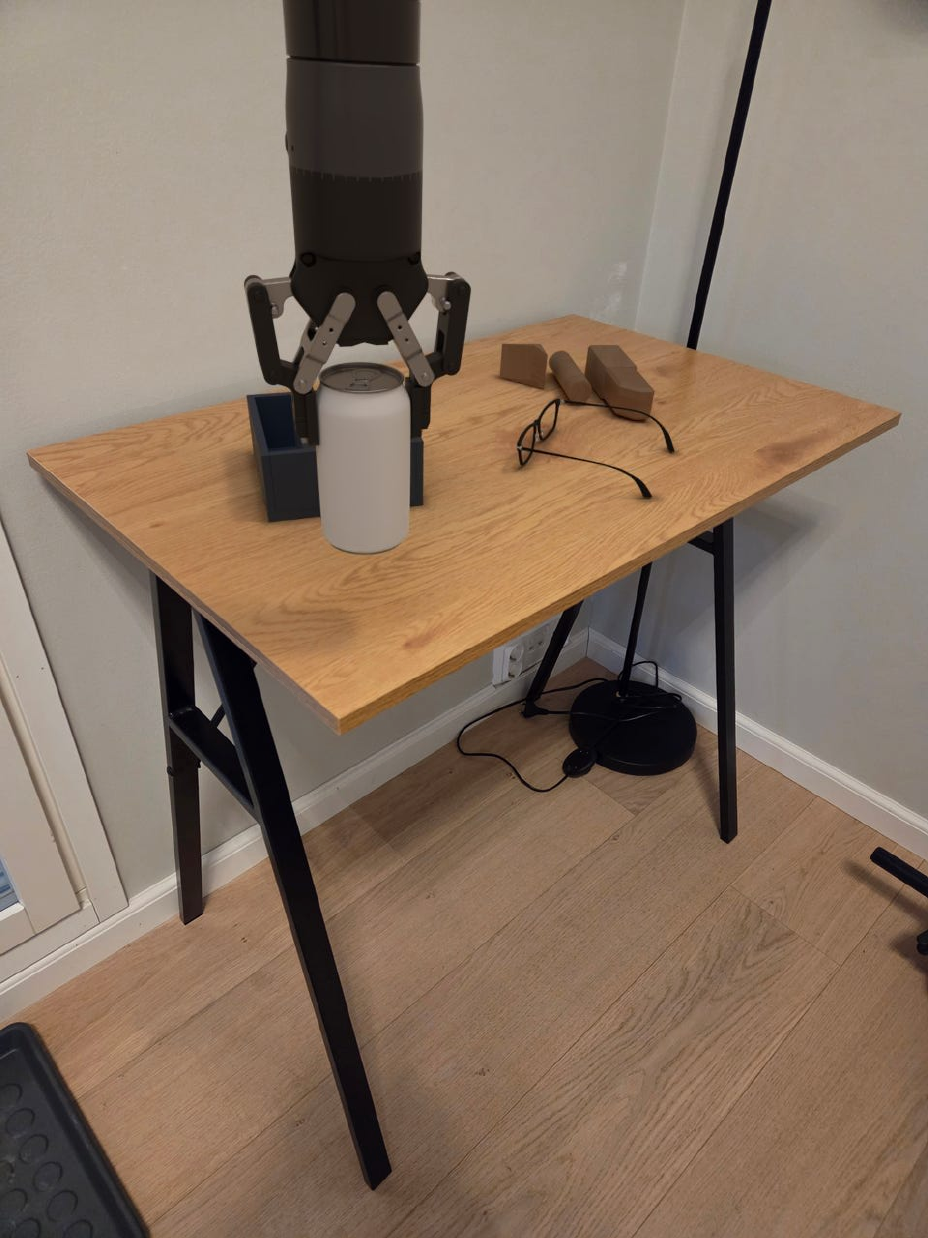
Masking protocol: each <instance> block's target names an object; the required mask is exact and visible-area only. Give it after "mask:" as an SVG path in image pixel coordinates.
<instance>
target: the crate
mask: <svg viewBox="0 0 928 1238" xmlns="http://www.w3.org/2000/svg"><path fill="white" fill-rule="evenodd" d="M314 391H315V393H316V391H317V389H314ZM246 402H247V403H246V404H247V413H248V421H249V426H250V435H251V443H252V451H253V457H254V462H255V466H256V470H257V475H258V479H259V484H260V489H261V495H262V498H263V503H264V507H265V511H266V517H267V521H268V523H272V522H280V521H281V522H282V521H290V520H299V519H308V518H309V519H310V518H316V517H321V515H320V500H319V485H318V470H317V454H316V448H305V449H296V445H295V434H294V424H293V412H292V399H291V391H283V392H282V391H281V392H270V393H253V394H246ZM424 448H425V442H424V440H423V438H422V437H421V438H413V439H411V438H410V504H409V507H416V506H417V507H418V506H423V505H424V461H425V460H424V456H425V455H424V453H425V452H424V451H425V449H424Z"/></svg>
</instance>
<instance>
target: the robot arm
mask: <svg viewBox="0 0 928 1238" xmlns="http://www.w3.org/2000/svg"><path fill="white" fill-rule="evenodd" d="M281 1H282V12H283V13H282V14H283V15H282V16H283V28H284V44H285V55H286V56H287V58H286V59H285V60H286V61H285V62H286V63H285V64H286V78H285V79H286V81H285V96H284V97H285V103H284V108H285V111H284V112H285V113H284V114H285V127H286V131H285V135H284V143H285V144H284V146H285V151H286V153H287V159H288V171H289V182H290V183H289V185H290V198H291V199H290V201H291V213H292V228H293V242H294V243H293V244H294V261H293V265H292V267H291V270H290V271H289V275H288V276H282V277H281V276H280V277H272V278H264V279H262V278H261V277H260V276H259V275H256V274H250V275H248V276H247V277H246V278H245V279H244V281H243V288H244V293H245V298H246V299H245V300H246V304H247V308H248V313H249V318H250V323H251V328H252V334H253V338H254V344H255V349H256V353H257V358H258V363H259V368H260V371H261V373H262V374H261V375H262V377H263V380H264V382H265V383H266V384H267V385H270V386H277V385H279V386H281V387H285V388H287V389H288V390H290V392H291V399H292V412H293V423H294V426H295V429H296V432H297V434H298V436H299V438H305V439H306V442H307V445H308V446H318V445H319V437H318V420H317V404H316V393H315V391H314V390H315V388H314V385H315V382H316V381H317V378H318V376H319V373H320V372H321V371H322V368H323V366H325V365H326V363H327V362H328V361H329V359H330V357H331V354H332V353H333V350H334V348H335V347H336V345H338V347H339V348H348V347H349V348H351V347H355V346H358V345H361V344H368V345H373V346H389V342H393V344H394V345H395V347H396V348H397V351H398V352H399V354H400V357H401V358H402V360H403V362H404V364H405V365H406V367H407V369H408V376H404V387H405V389H406V391H407V393H408V395H409V398H410V438H411V439H413V438H422V436H423V430H428V429H429V426H430V424H431V419H432V418H431V412H432V409H431V408H432V387H433V384H434V383H435V381H436V380H438V379H440V378H442V377H444V376H450V377H453V376H456V375H457V374H458V373H459V372H460V370H461V368H462V366H461V365H462V360H463V352H464V345H465V340H466V339H465V337H466V331H467V324H468V317H469V310H470V302H471V294H472V287H471V285H470V284H469V282H467V280H465V278H463V277H462V276H461V275H460V274H458V273H457V272H456V271H448V272H446V273H445V274H444V275H441V274H432V273H426V270H425V268H424V265H423V261H422V245H423V244H422V243H423V242H422V241H423V182H424V181H423V178H424V128H425V127H424V126H425V125H424V103H423V102H424V101H423V95H422V86H421V85H422V84H421V66H420V65H418V64H420V63H421V25H422V24H421V23H422V22H421V20H422V3H421V0H281ZM427 294H429V295H430V297H431V304H432V306H433V307H434V308H435V309H436V310H437V311H438V313H437V320H436V321H437V322H436V329H435V339H434V347H433V351H432V352H430V353H428V354H426V355H425V354H424V351H423V349H422V346H421V344H420V342H419V340H418V338H417V337H416V334H415V333H414V331H413V329H412V327H411V325H410V323H409V321H410V319H411V318H412V316H413V315H414V313H415V312H416V310H417V309H418V307H419V306H420V304H421V303H422V301H423V300H424V299H425V297H426V296H427ZM291 297H293V299H294V300H295V301H296V303H298V305H299V306H300V307H301V309H302V310H303V311H304V313H305V314H306V315H307V316H308V318H309V319H308V321H307V324H306V325H305V328H304V329H303V332H302V334H301V337H300V342H299V345H298V347H297V349H296V352H295V354H294V357H293V358H292V361H289V360H286V359H282V358H281V356H280V351H279V344H278V340H277V334H276V328H275V324H274V320H275V319H279V318H281V316H282V315H283V314H284V310H285V302H286V301H287V300H288V299H289V298H291Z"/></svg>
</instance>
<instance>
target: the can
mask: <svg viewBox="0 0 928 1238" xmlns="http://www.w3.org/2000/svg"><path fill="white" fill-rule="evenodd" d="M317 378H318V381H319V384H318V386H317V388H316V390H317V391H316V404H317V420H318V437H319V445H318V446H316V454H317V470H318V485H319V500H320V515H321V516H320V527H321V533H322V536H323V539H324V540H325V541H326V542H327V543H328V544H329V545H330V546H331V547H333V548H334V549H336V550H338V551H340V552H342V553H346V554H351V555H356V556H374V555H380V554H384V553H387V552H391V551H393V550H394V549H396V548H398V547H399V546H400V545H401V544H402V543H403V542H404V541H405V540H406V539H407V537H408V535H409V532H410V506H409V504H410V398H409V395H408V393H407V391H406V389H405V375H404V373H403V372H402V371H400V370H399V369H397V368H395V367H393V366H390V365H387V364H383V363H379V362H378V363H377V362H371V361H370V362H369V361H352V362H342V363H337V364H332V365H330V366H327V367H325V368H323V369H321V370H320V372H319V374H318V376H317Z"/></svg>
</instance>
